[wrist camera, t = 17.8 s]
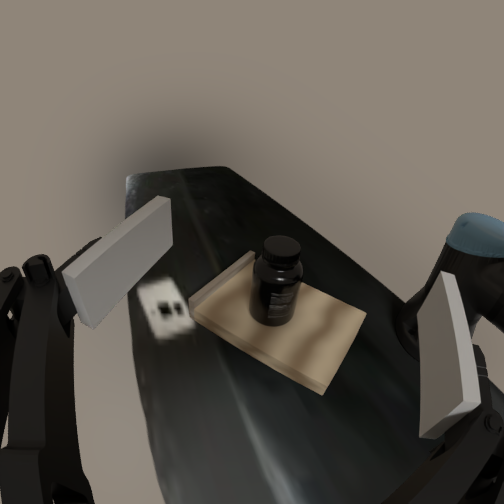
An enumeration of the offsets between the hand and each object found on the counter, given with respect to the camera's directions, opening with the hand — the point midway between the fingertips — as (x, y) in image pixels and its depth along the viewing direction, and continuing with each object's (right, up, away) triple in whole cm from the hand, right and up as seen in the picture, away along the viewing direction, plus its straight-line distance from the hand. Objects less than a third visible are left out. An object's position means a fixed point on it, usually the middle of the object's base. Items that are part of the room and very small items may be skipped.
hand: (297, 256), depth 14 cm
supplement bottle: (+1, -9, +32) cm, 33 cm away
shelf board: (+3, -11, +33) cm, 35 cm away
